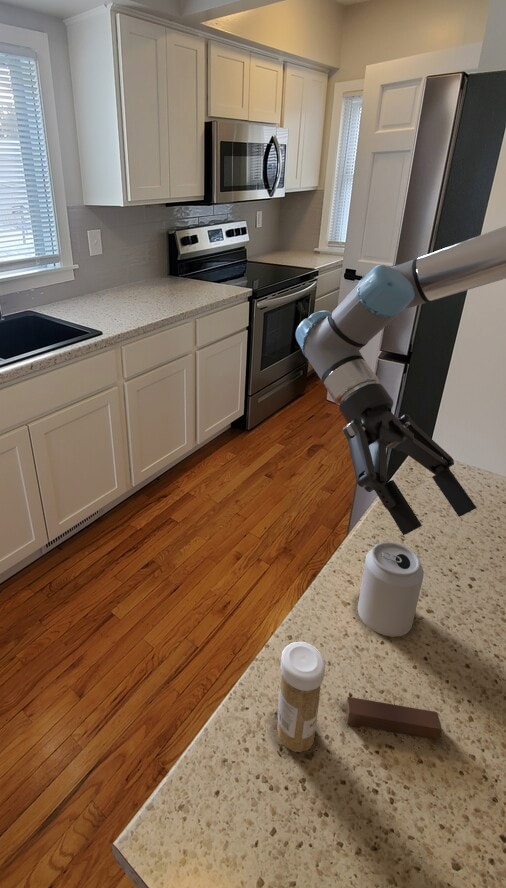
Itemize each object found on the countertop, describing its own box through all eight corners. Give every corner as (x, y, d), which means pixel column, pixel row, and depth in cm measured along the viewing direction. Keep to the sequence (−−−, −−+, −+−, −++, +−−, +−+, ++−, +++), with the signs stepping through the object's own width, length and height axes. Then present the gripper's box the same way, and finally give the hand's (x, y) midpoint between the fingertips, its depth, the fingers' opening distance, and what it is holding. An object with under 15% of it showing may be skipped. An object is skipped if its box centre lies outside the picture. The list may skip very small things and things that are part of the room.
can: (413, 647, 67) (429, 582, 62) (356, 633, 69) (367, 569, 64) (409, 605, 73) (422, 543, 69) (356, 593, 76) (366, 532, 71)
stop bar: (432, 728, 57) (437, 711, 56) (437, 746, 56) (442, 729, 54) (344, 712, 59) (347, 696, 58) (346, 729, 58) (349, 713, 56)
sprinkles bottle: (319, 757, 55) (331, 677, 49) (279, 759, 55) (287, 680, 49) (308, 715, 59) (318, 638, 54) (271, 718, 59) (277, 640, 53)
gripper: (390, 405, 86) (467, 516, 75) (288, 413, 72) (364, 550, 62) (422, 378, 81) (509, 494, 70) (319, 382, 67) (408, 526, 57)
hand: (442, 521), depth 66 cm, fingers open, 13 cm apart
